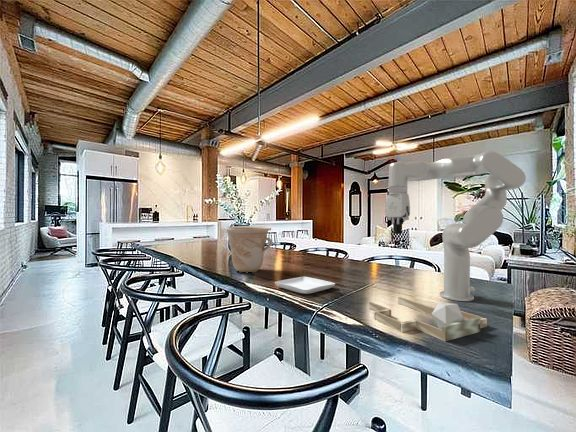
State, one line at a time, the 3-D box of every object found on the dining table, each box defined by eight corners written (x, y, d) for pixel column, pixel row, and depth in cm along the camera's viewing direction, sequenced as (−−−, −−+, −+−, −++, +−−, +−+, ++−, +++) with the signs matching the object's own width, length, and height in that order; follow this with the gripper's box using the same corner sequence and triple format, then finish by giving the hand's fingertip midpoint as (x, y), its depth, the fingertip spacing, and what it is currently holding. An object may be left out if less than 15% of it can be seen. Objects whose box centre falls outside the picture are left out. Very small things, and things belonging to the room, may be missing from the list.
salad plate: (304, 281, 150) (304, 275, 150) (336, 289, 135) (336, 282, 135) (273, 288, 136) (273, 281, 136) (305, 298, 120) (305, 290, 120)
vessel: (285, 268, 177) (280, 220, 174) (245, 281, 158) (239, 228, 156) (258, 262, 199) (253, 220, 196) (221, 273, 180) (215, 227, 178)
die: (457, 343, 85) (476, 316, 85) (443, 333, 81) (463, 305, 81) (435, 326, 92) (452, 302, 92) (421, 317, 89) (439, 291, 89)
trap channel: (410, 301, 116) (410, 291, 116) (491, 328, 88) (492, 315, 88) (355, 311, 103) (356, 299, 103) (430, 345, 76) (430, 330, 76)
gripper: (378, 192, 128) (378, 232, 128) (405, 189, 115) (405, 234, 115) (391, 192, 132) (390, 232, 132) (418, 190, 118) (418, 234, 118)
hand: (397, 233), depth 123 cm, fingers closed
